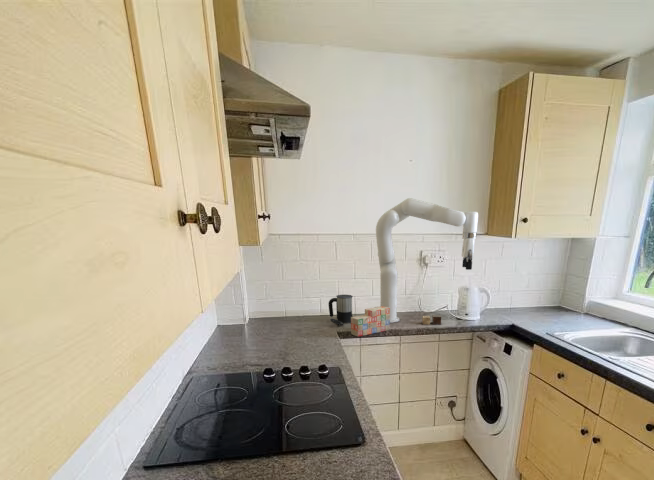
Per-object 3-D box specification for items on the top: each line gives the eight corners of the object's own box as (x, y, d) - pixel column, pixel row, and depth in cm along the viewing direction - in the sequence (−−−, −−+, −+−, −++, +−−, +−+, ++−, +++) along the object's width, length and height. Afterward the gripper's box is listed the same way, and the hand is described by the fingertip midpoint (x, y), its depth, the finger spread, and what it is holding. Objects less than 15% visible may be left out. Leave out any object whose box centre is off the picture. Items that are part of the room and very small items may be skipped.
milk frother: (351, 318, 244) (350, 293, 238) (356, 325, 230) (356, 299, 224) (327, 320, 240) (326, 295, 234) (331, 327, 226) (330, 300, 220)
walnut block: (433, 324, 232) (433, 316, 231) (432, 322, 237) (432, 315, 235) (440, 324, 233) (441, 316, 231) (439, 322, 237) (440, 315, 235)
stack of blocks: (358, 337, 209) (357, 313, 204) (351, 334, 214) (350, 311, 209) (389, 330, 222) (390, 307, 217) (382, 327, 226) (382, 305, 221)
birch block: (422, 324, 233) (423, 317, 231) (422, 322, 236) (422, 315, 235) (429, 324, 233) (430, 317, 231) (429, 322, 236) (429, 315, 235)
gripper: (459, 235, 230) (457, 266, 237) (465, 237, 214) (463, 270, 221) (472, 235, 230) (470, 266, 237) (479, 237, 214) (476, 270, 221)
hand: (466, 268), depth 229 cm, fingers open, 9 cm apart
